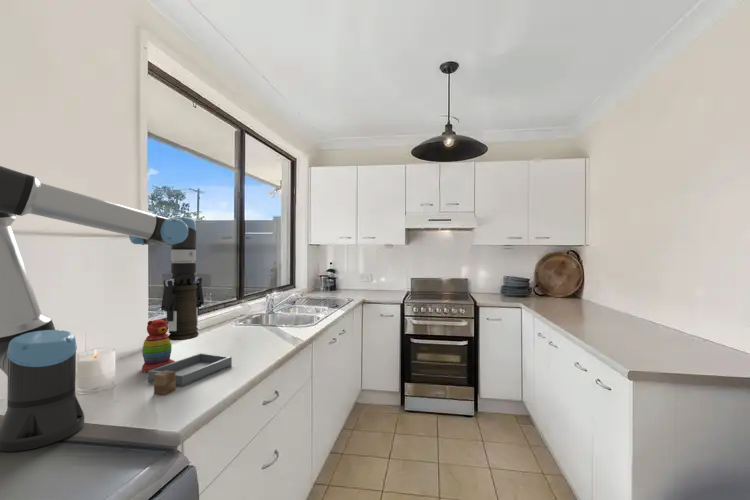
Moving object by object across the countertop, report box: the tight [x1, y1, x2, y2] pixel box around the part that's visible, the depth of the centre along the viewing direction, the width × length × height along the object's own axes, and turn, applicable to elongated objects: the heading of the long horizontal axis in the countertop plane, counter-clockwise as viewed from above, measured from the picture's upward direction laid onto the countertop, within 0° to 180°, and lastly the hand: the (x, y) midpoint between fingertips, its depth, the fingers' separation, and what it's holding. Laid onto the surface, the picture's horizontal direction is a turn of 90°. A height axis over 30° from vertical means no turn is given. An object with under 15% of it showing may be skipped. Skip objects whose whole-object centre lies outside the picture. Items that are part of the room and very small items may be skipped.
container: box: [168, 285, 199, 341], centre depth 121 cm, size 9×9×18 cm
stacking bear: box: [141, 318, 176, 374], centre depth 131 cm, size 11×10×18 cm
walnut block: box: [153, 370, 176, 397], centre depth 107 cm, size 4×4×6 cm
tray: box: [147, 352, 233, 388], centre depth 124 cm, size 22×15×4 cm
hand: (183, 328), depth 121 cm, fingers closed on container, 8 cm apart
